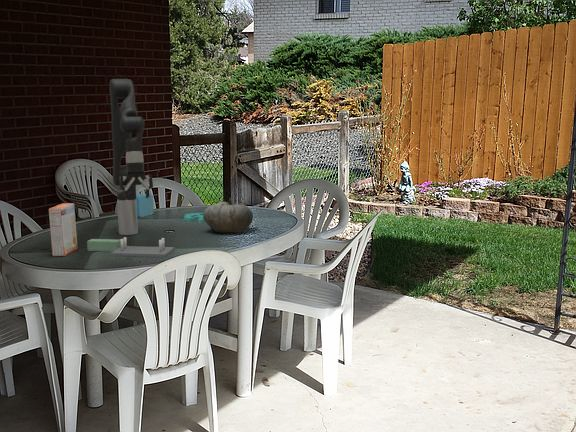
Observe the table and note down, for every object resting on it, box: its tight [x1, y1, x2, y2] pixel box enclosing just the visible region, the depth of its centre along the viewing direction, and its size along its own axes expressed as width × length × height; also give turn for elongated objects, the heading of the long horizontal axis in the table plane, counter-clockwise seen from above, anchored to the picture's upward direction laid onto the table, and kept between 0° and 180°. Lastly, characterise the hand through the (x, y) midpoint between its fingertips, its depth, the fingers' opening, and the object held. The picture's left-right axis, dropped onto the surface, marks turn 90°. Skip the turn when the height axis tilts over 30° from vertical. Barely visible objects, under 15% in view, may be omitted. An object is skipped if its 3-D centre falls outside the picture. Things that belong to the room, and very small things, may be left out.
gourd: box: [202, 197, 254, 234], centre depth 342 cm, size 25×25×17 cm
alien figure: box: [183, 212, 205, 224], centre depth 378 cm, size 20×2×20 cm
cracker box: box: [48, 202, 78, 257], centre depth 295 cm, size 14×6×21 cm, turn 174°
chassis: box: [109, 236, 175, 258], centre depth 295 cm, size 14×24×6 cm, turn 82°
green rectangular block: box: [86, 238, 121, 252], centre depth 302 cm, size 5×14×4 cm, turn 82°
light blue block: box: [136, 193, 155, 218], centre depth 387 cm, size 12×4×12 cm, turn 152°
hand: (137, 198), depth 301 cm, fingers open, 8 cm apart
